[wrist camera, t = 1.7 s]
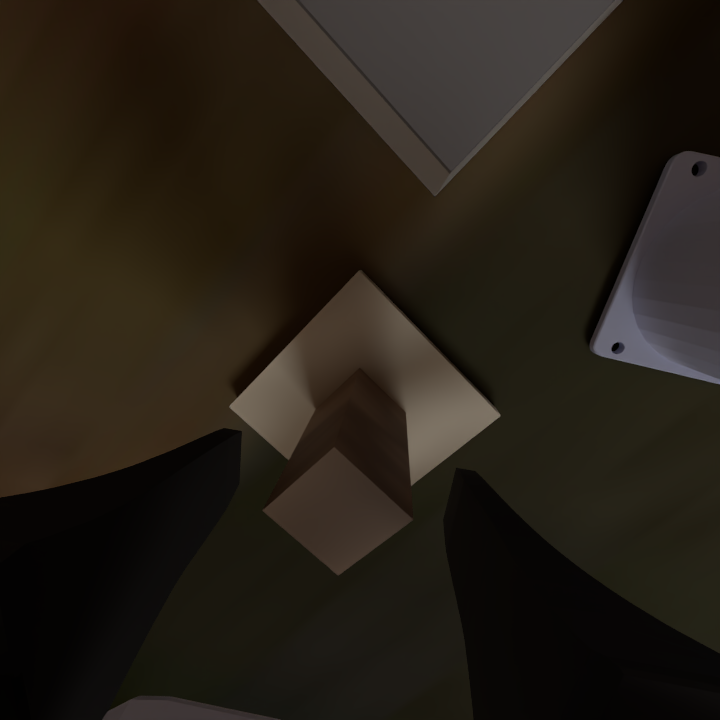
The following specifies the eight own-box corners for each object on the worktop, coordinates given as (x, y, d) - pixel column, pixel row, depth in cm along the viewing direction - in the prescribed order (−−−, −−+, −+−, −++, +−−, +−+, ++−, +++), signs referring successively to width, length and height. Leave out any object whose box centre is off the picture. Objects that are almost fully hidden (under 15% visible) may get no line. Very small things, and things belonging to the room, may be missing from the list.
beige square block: (495, 406, 17) (500, 415, 16) (362, 511, 19) (360, 524, 18) (361, 269, 16) (359, 270, 15) (237, 399, 18) (228, 406, 17)
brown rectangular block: (405, 412, 16) (413, 519, 10) (360, 451, 17) (338, 575, 10) (359, 367, 16) (334, 447, 9) (315, 409, 17) (262, 510, 10)
